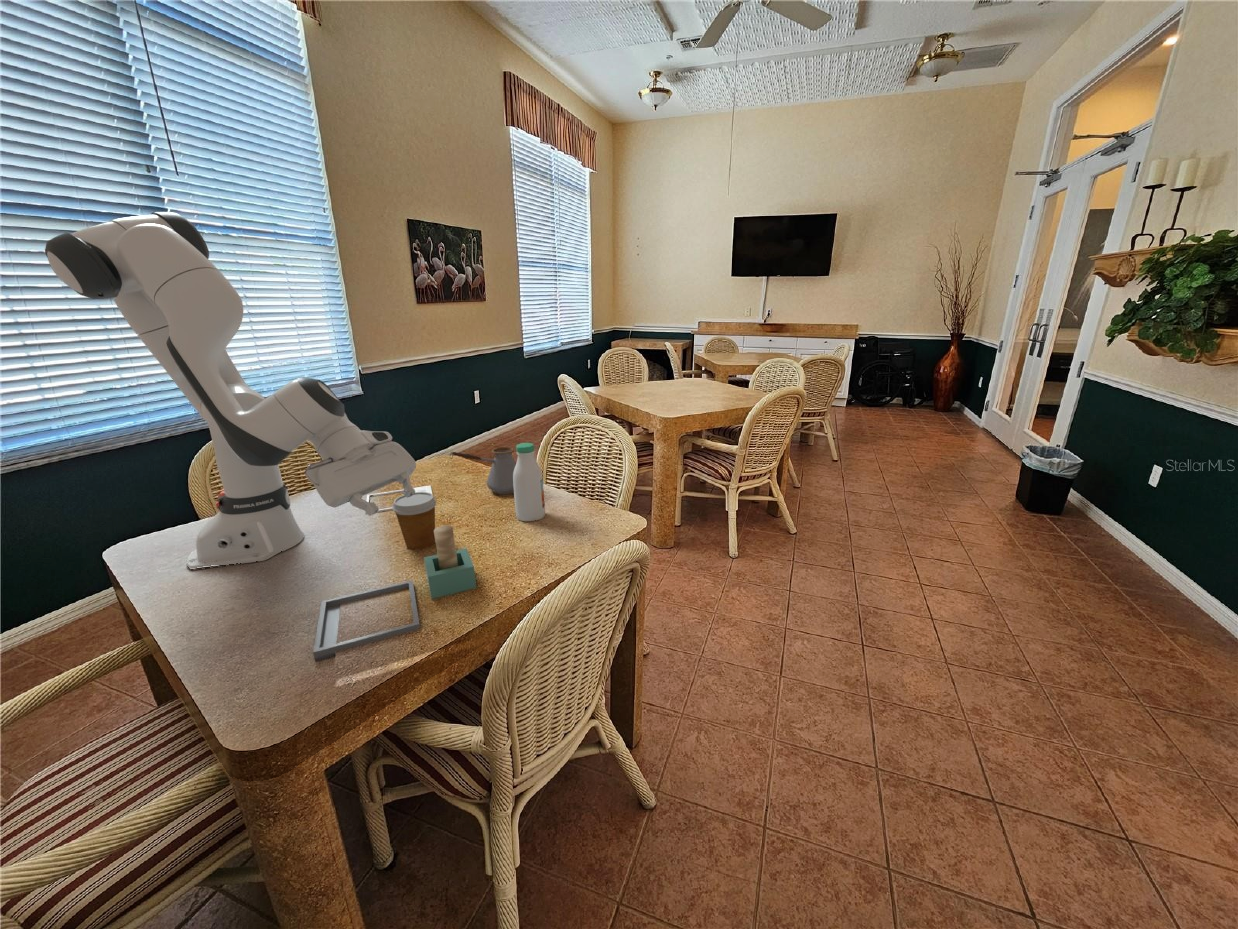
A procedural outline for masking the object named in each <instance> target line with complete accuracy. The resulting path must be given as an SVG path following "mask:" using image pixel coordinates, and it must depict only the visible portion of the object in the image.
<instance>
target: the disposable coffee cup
mask: <svg viewBox="0 0 1238 929" xmlns="http://www.w3.org/2000/svg"><path fill="white" fill-rule="evenodd" d="M432 494H433V493H432ZM432 494H431V493H427V492H415V493H414V495H412V496H410V497H408V498H407V497H405V495H404V494H402V495H400V496H398V497H396V498H395V499H394V500H393V504H392V506H391V507H392V509H393V510H392V511H393V512H394V513H395V515H396V519H397V521H398V524H399V528H400V532H401V534H402V536H403V539H404V543H405V546H406V549H408V550H409V549H411V550H420V549H425V548H427V547H430V546H431V545H433V544H436V542H435V535H434V529H435V528H436V505H437V499H436V498H435V497H434V494H433V495H432Z"/></svg>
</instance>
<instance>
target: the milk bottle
mask: <svg viewBox="0 0 1238 929" xmlns="http://www.w3.org/2000/svg"><path fill="white" fill-rule="evenodd" d="M515 450H516V455H517V460H516V466H515V469H514V472H513V486H514V493H513V495H514V496H513V497H514V506H515V515H516V516H515V517H516V518H517V519H518V520H519V521H521V522H535V520H536V521H539V520H542V519H543V518H544V517H545V515H546V506H545V505H546V504H545V491H544V480H543V478H544V477H543V472H542V469H541V467H540V465H539V464H538V462H537V460H536V457H535V453H536V451H535V445H534V444H533V442H532V443H531V442H521V443H518V444H516V446H515ZM542 517H543V518H542Z"/></svg>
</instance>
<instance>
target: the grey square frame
mask: <svg viewBox="0 0 1238 929" xmlns="http://www.w3.org/2000/svg"><path fill="white" fill-rule="evenodd" d="M414 587H415V586H414V581H413V579H412V580H407V581H403V582H399V583H394V584H389V585H385V586H380V587H377V588H372V589H368V590H364V591H359V592H356V593H351V594H346V595H342V596H337V597H334V598H330V599H325V600H324V599H323V600H321V602H320V608H319V615H318V620H317V625H316V626H317V627H316V633H315V638H314V645H313V651H312V653H313V656H314V657H313V658H314V661H315V662H319V661H323V660H326V659H329V658H333V657H336V653H338V652H340V651H341V652H342V651H345V650H349V649H353V648H357V647H358V646H362V645H367V644H370V643H374V642H378V641H381V640H385V639H388V638H392V637H393V638H394V637H395V636H399V635H405V634H407V633H410V632H415V631H418V630H421V626H420V620H419V612H418V607H417V600H416V593H415V588H414ZM407 588H408V589H409V595H410V603H411V610H412V618H413V622H412V623H408V624H405V625H400V626H396V627H392V628H390V629H385V630H381V631H378V632H373V633H371V634H366V635H362V636H359V637H355V638H351V639H347V640H344V641H340V642H338V632H339V624H340V612H341V611H340V610H341V605H342V604H345V603H349V602H354V601H358V600H362V599H367V598H371V597H375V596H380V595H384V594H387V593H392V592H396V591H400V590H404V589H407Z"/></svg>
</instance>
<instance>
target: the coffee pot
mask: <svg viewBox="0 0 1238 929" xmlns="http://www.w3.org/2000/svg"><path fill="white" fill-rule="evenodd" d="M513 451H514V448H513V447H509V446H499V447H496V448H493V449H491V453H492V454H493V456H494V458H493V459H492V458H486V457H480V456H477V455H473V454H470V453H462V452H460V451H459V452H456V451H451V453H450V454H449V456H451V455H452V457H449V459H450V460H452V459H453V458H454V456H457V457H459V458H460V457H462V458H465V459H471V460H476V461H477V460H478V461H483V462H488V463H492V464H491V467H490V470H489V473H488V476H487V479H486V484H485V485H486V486H487V488H488V489H489V490H490V491H493V493H494V494H497V493H498V494H497V495H510V494H509V493H511V494H514V486H513V472H514V469H515V466H516V463H517V461H516V460H515V458H514V456H513Z"/></svg>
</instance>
